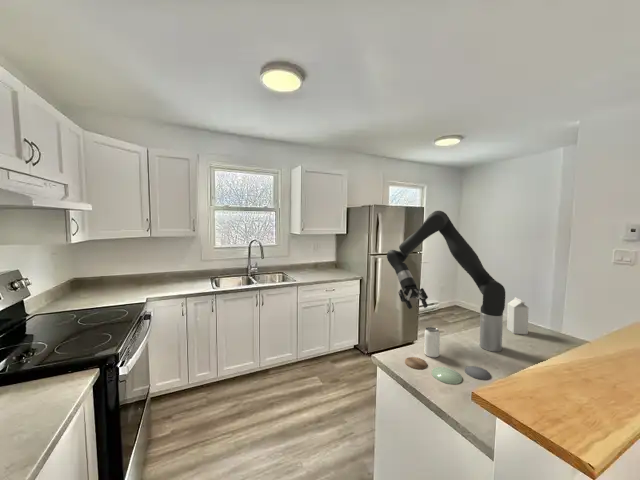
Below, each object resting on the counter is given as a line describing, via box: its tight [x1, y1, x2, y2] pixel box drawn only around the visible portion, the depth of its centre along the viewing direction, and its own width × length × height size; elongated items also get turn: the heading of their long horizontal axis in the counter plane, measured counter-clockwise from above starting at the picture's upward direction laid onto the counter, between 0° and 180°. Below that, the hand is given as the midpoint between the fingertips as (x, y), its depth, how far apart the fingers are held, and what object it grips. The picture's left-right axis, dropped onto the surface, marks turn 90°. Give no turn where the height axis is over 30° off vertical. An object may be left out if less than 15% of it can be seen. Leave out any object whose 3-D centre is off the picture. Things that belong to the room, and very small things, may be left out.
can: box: [423, 326, 441, 359], centre depth 126 cm, size 6×6×12 cm
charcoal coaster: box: [464, 365, 491, 381], centre depth 110 cm, size 9×9×1 cm
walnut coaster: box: [404, 356, 428, 370], centre depth 118 cm, size 9×9×1 cm
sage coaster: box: [431, 366, 463, 385], centre depth 108 cm, size 11×11×1 cm
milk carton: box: [506, 296, 529, 335], centre depth 151 cm, size 7×7×19 cm
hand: (418, 307), depth 135 cm, fingers open, 8 cm apart
